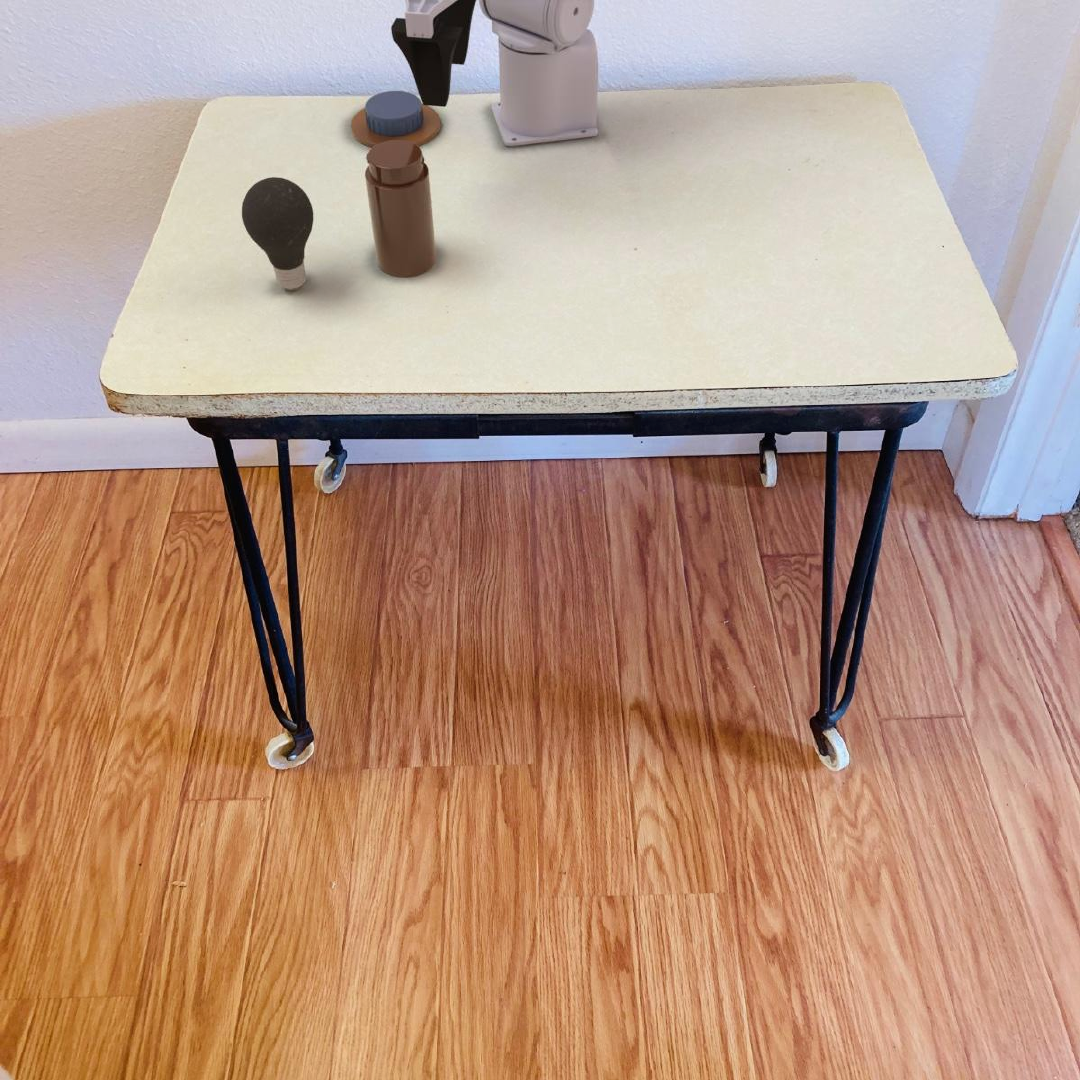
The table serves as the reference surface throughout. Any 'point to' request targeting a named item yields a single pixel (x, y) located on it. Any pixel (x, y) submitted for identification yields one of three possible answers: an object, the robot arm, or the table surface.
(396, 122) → the jar lid
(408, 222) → the jar
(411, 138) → the coaster
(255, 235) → the light bulb
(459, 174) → the table surface
